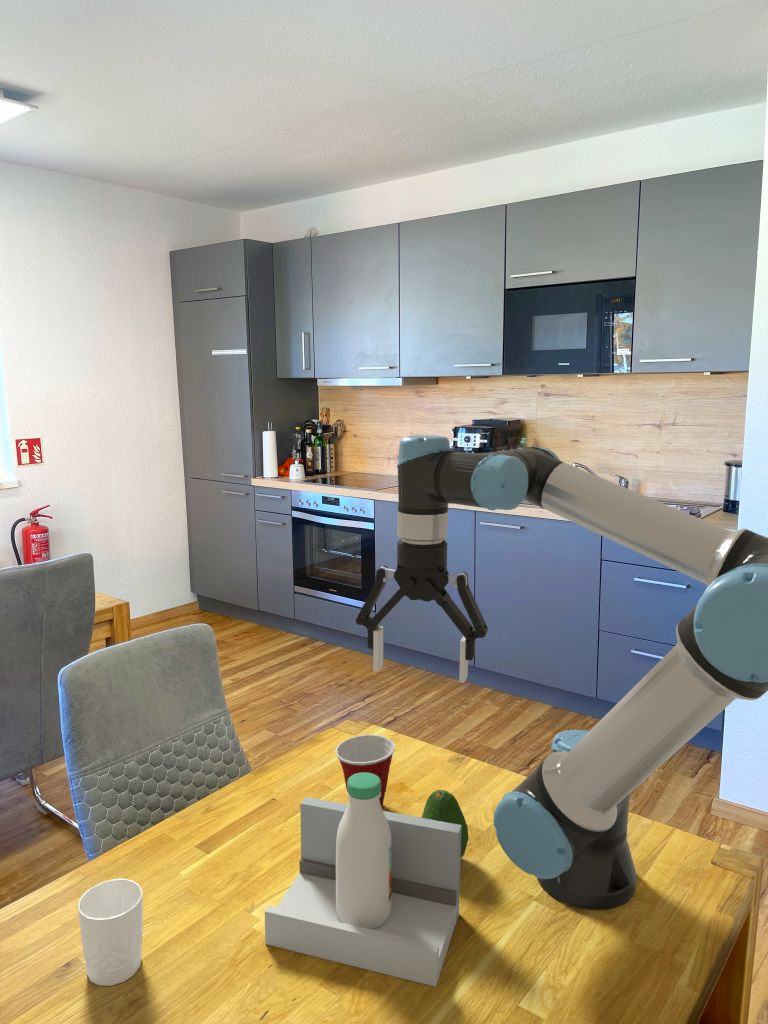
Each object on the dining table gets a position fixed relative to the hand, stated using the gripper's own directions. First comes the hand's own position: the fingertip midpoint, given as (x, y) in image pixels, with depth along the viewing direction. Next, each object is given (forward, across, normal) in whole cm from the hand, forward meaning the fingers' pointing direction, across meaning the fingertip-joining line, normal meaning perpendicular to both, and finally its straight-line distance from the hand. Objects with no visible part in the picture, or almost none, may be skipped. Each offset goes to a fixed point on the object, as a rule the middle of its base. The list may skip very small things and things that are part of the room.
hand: (420, 674), depth 116 cm
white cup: (+32, +32, +34) cm, 57 cm away
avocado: (+32, -4, -1) cm, 32 cm away
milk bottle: (+29, +3, +18) cm, 34 cm away
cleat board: (+32, +3, +17) cm, 36 cm away
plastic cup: (+32, +13, -12) cm, 36 cm away
